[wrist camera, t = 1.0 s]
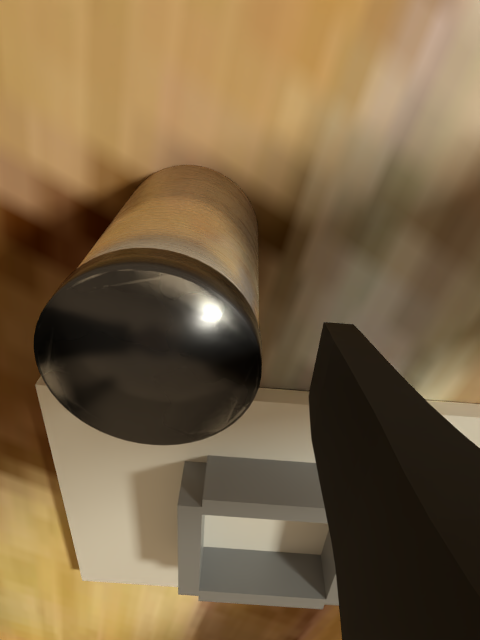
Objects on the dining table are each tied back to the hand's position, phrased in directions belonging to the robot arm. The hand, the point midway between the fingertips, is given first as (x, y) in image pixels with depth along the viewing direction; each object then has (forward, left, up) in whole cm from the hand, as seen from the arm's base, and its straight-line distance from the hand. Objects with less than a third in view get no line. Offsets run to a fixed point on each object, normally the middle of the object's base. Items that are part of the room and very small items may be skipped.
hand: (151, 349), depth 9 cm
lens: (0, 0, -6) cm, 6 cm away
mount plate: (-4, +14, -6) cm, 16 cm away
